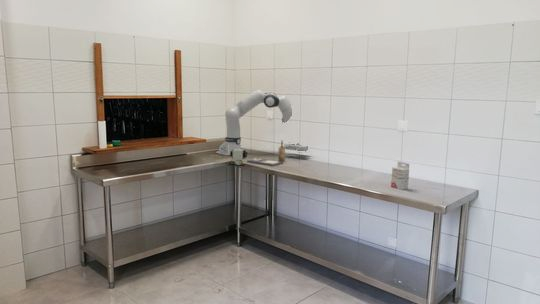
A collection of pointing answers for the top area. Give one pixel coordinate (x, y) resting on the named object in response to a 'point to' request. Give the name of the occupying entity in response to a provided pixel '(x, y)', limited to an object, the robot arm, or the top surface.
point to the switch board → (265, 162)
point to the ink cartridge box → (400, 176)
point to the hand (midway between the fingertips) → (290, 148)
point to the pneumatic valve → (238, 155)
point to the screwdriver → (281, 153)
